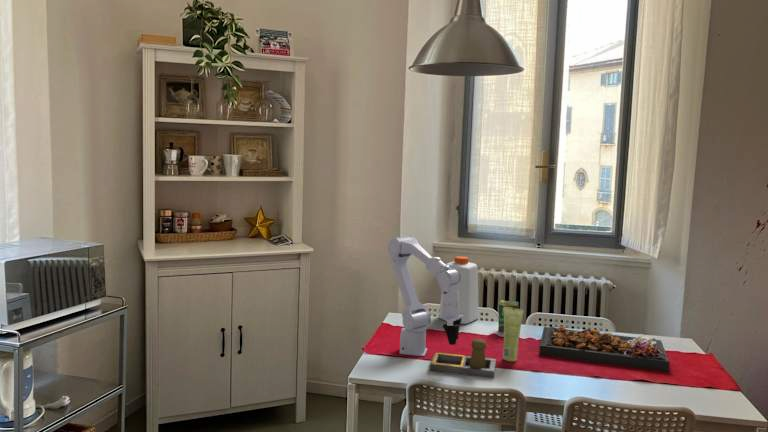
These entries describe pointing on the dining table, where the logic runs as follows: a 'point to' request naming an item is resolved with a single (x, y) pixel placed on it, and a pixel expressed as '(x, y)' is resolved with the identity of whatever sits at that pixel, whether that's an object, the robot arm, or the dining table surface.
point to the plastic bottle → (465, 289)
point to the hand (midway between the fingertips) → (453, 341)
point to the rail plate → (461, 368)
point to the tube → (511, 332)
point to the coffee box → (501, 313)
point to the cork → (478, 354)
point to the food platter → (604, 348)
